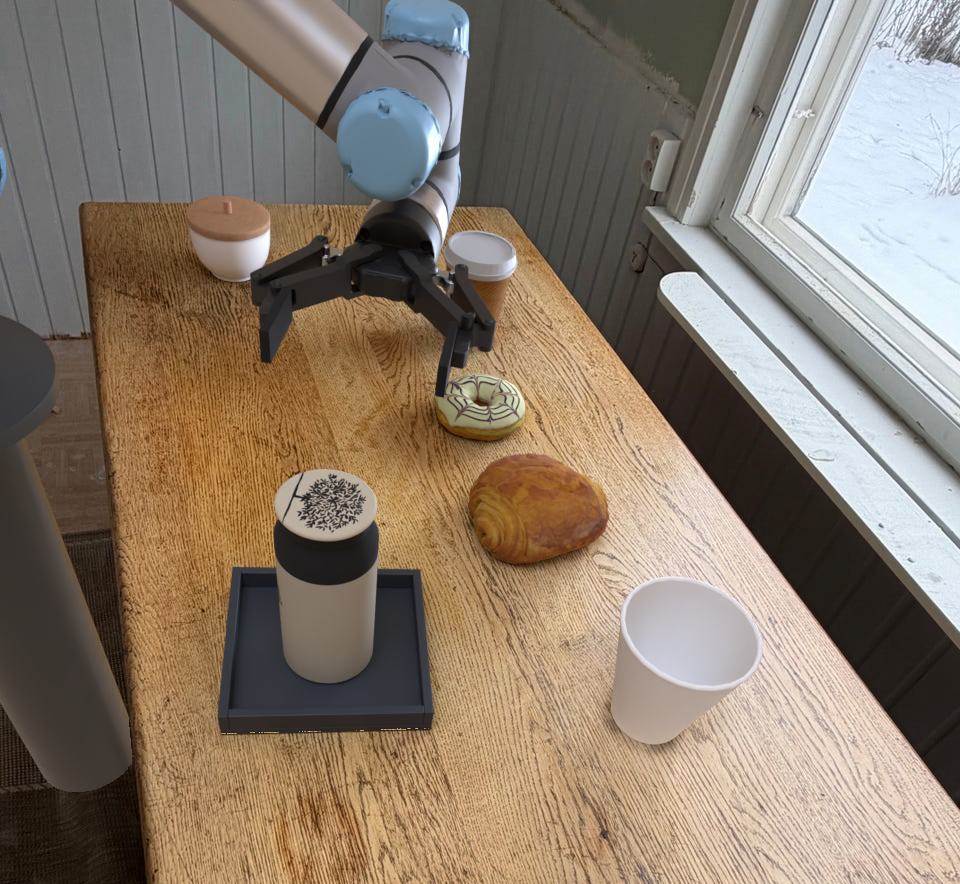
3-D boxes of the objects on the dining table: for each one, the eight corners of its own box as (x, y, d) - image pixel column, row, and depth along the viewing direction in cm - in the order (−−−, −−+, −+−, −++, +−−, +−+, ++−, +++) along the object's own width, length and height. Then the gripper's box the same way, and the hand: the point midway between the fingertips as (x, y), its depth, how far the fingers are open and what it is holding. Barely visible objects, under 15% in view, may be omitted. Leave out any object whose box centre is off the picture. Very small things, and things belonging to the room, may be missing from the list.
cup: (568, 739, 72) (604, 655, 62) (601, 645, 79) (638, 557, 69) (696, 789, 70) (753, 711, 61) (718, 688, 78) (772, 604, 68)
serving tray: (221, 735, 67) (217, 717, 65) (235, 586, 77) (232, 566, 75) (430, 730, 70) (433, 712, 68) (418, 587, 80) (420, 568, 78)
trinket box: (177, 265, 111) (166, 194, 103) (240, 244, 117) (234, 175, 109) (227, 299, 107) (219, 228, 100) (289, 276, 113) (286, 207, 106)
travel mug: (385, 631, 75) (395, 483, 61) (353, 696, 70) (357, 553, 56) (305, 605, 76) (298, 454, 62) (268, 669, 71) (251, 520, 57)
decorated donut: (427, 394, 100) (430, 367, 97) (509, 393, 103) (514, 367, 100) (443, 447, 94) (446, 421, 91) (530, 445, 97) (536, 418, 94)
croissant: (615, 565, 89) (645, 511, 83) (495, 586, 82) (520, 528, 76) (553, 479, 96) (577, 424, 90) (438, 491, 89) (456, 432, 83)
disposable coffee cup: (517, 338, 111) (534, 252, 102) (472, 362, 106) (485, 274, 97) (467, 307, 114) (478, 221, 105) (420, 329, 109) (428, 240, 100)
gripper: (525, 303, 78) (505, 435, 65) (270, 251, 77) (196, 375, 64) (541, 224, 72) (522, 352, 59) (265, 167, 71) (183, 285, 58)
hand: (353, 365), depth 61 cm, fingers open, 13 cm apart
